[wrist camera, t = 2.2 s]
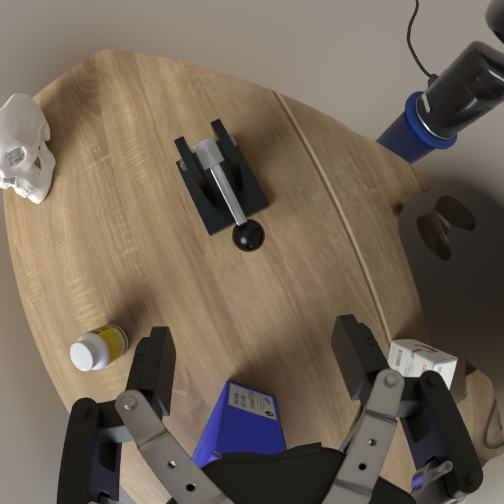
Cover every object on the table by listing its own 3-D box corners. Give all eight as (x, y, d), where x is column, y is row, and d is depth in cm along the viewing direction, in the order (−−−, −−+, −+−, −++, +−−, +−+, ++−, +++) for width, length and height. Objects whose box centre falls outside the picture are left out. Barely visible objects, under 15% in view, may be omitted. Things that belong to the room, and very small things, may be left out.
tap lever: (265, 237, 33) (273, 247, 29) (238, 251, 33) (243, 262, 29) (217, 134, 28) (219, 131, 24) (187, 149, 28) (185, 148, 24)
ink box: (405, 385, 37) (442, 414, 25) (381, 388, 37) (415, 421, 25) (416, 337, 37) (459, 356, 25) (391, 338, 37) (432, 361, 25)
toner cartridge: (203, 518, 36) (191, 577, 17) (167, 506, 36) (145, 563, 18) (279, 395, 37) (294, 475, 19) (227, 377, 37) (207, 453, 19)
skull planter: (18, 229, 37) (-47, 171, 20) (35, 168, 47) (-10, 116, 30) (63, 191, 37) (-4, 115, 20) (76, 135, 47) (32, 75, 31)
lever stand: (269, 207, 38) (276, 177, 25) (211, 236, 38) (187, 221, 24) (232, 138, 39) (222, 85, 25) (178, 165, 39) (145, 123, 25)
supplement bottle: (118, 318, 38) (84, 331, 28) (135, 349, 38) (104, 370, 28) (95, 330, 38) (60, 345, 28) (111, 360, 38) (79, 381, 28)
